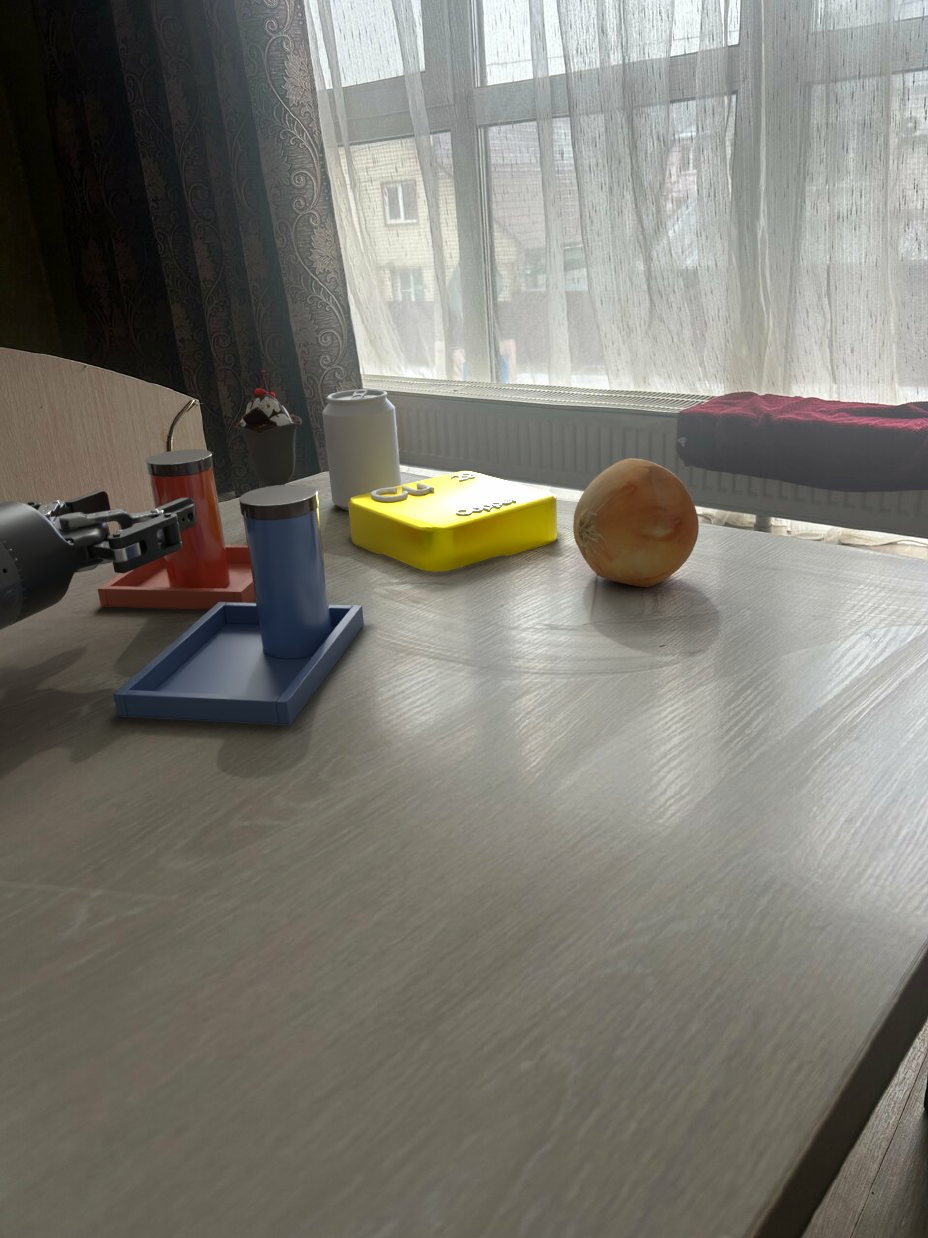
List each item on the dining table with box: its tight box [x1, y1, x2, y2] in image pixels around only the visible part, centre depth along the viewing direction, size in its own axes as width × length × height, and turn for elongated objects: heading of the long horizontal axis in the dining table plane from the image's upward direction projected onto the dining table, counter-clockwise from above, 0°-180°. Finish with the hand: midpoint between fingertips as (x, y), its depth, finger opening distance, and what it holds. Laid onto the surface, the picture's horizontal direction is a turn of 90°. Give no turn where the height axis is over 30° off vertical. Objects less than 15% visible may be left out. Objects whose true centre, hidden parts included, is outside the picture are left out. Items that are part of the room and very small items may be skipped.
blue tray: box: [112, 602, 365, 726], centre depth 66 cm, size 11×15×2 cm
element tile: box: [348, 470, 558, 573], centre depth 90 cm, size 15×15×5 cm
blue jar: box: [238, 484, 332, 659], centre depth 67 cm, size 5×5×11 cm
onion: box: [572, 457, 700, 588], centre depth 76 cm, size 10×10×10 cm
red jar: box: [144, 448, 231, 589], centre depth 79 cm, size 5×5×11 cm
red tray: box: [97, 544, 256, 610], centre depth 82 cm, size 12×11×2 cm
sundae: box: [234, 369, 303, 487], centre depth 98 cm, size 7×7×15 cm
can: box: [321, 388, 402, 512], centre depth 102 cm, size 8×8×12 cm
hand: (147, 506), depth 75 cm, fingers open, 8 cm apart
